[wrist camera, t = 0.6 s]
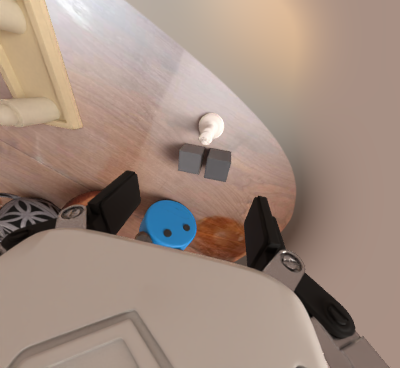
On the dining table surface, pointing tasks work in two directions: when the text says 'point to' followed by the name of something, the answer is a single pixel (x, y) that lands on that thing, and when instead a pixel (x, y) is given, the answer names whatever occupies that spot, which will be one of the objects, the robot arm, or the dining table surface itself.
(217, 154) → the slate blocks
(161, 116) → the dining table surface
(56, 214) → the teapot
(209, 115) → the chess piece
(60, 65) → the pawn tray
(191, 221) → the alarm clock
